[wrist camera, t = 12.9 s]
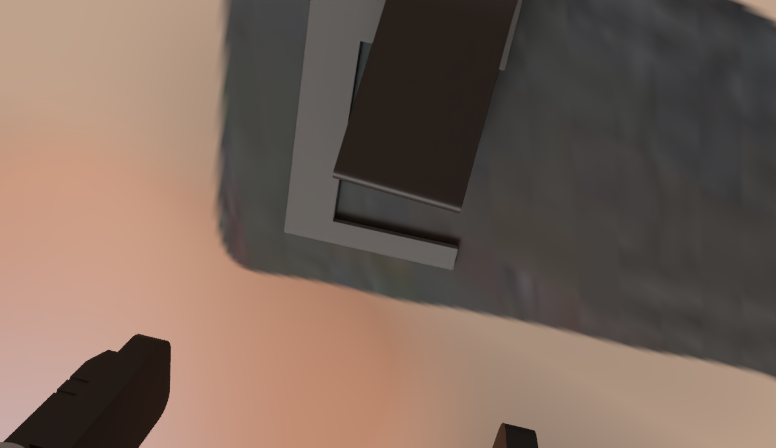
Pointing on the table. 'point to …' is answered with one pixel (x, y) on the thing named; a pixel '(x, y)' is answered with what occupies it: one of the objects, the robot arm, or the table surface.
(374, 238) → the bracket
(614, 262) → the table surface
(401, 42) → the phone stand
